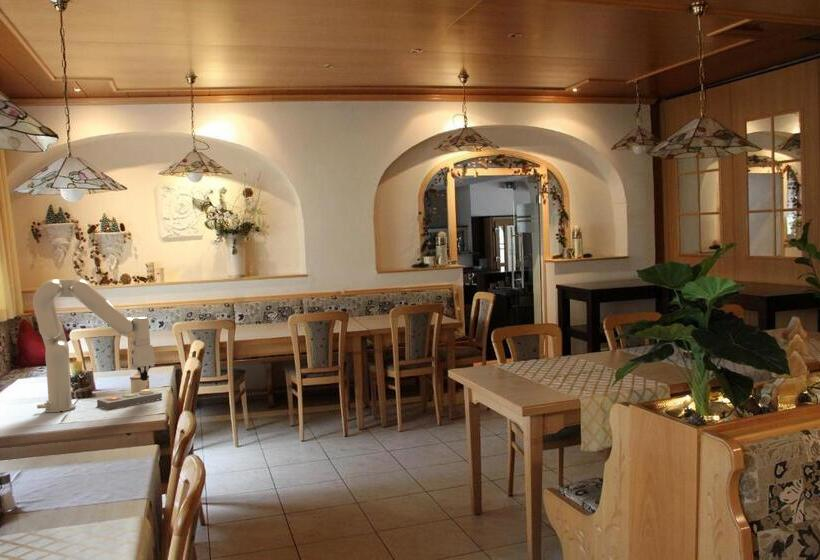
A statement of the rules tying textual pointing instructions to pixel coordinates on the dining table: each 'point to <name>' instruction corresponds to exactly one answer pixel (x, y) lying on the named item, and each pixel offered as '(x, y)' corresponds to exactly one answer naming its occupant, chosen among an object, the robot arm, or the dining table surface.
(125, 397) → the sage button
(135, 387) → the teacup with lid
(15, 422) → the dining table surface
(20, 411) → the dining table surface
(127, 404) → the button panel
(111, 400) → the terracotta button
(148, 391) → the cream button
